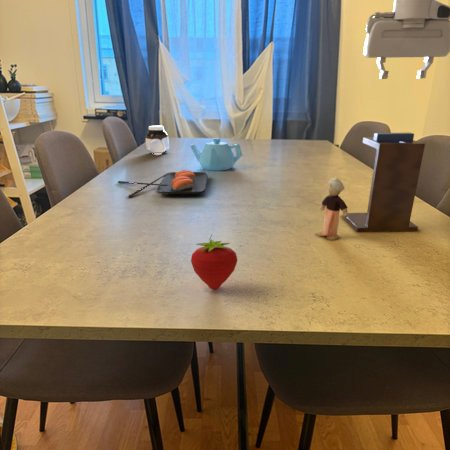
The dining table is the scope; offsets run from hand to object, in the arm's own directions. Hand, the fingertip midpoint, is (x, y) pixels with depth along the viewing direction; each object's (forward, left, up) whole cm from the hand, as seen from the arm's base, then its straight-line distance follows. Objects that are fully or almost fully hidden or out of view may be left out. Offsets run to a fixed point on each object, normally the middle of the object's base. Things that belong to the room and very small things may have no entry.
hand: (402, 78), depth 107 cm
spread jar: (+71, -91, -31) cm, 119 cm away
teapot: (+45, -55, -31) cm, 77 cm away
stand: (+8, +19, -31) cm, 37 cm away
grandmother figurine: (+22, +28, -31) cm, 47 cm away
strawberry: (+48, +53, -31) cm, 78 cm away
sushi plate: (+64, -23, -31) cm, 75 cm away
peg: (+8, +20, -28) cm, 35 cm away
